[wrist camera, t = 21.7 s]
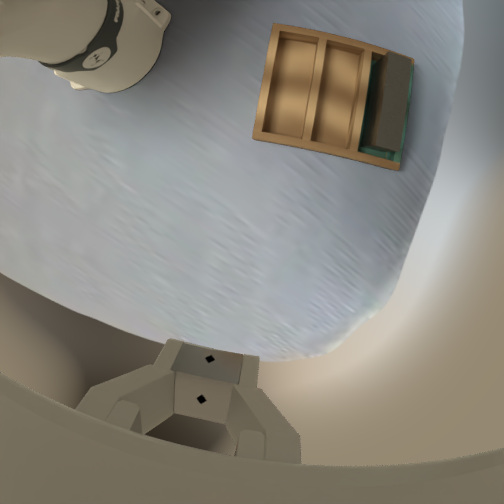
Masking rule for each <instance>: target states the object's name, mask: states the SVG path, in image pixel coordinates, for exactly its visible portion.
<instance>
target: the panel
mask: <svg viewBox="0 0 504 504" xmlns="http://www.w3.org/2000/svg"><path fill="white" fill-rule="evenodd" d="M411 61H412V59H410V58H407V57H405V56H402V55H399V54H396V53H393V52H390V51H388V52H387V53H386V54H385V55H384V56H383V57H381V58H380V59H379V60H378V61H377V62H376V63H375V64H374V65H372V73H371V81H370V88H369V95H368V102H367V109H366V115H365V121H364V127H363V133H362V139H361V145H360V147H364V148H368V149H371V150H375V151H379V152H399V151H400V146H401V140H402V134H403V127H404V121H405V114H406V107H407V99H408V91H409V82H410V72H411Z"/></svg>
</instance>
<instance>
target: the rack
mask: <svg viewBox="0 0 504 504" xmlns="http://www.w3.org/2000/svg"><path fill="white" fill-rule="evenodd" d="M388 51H390V50H387V49H384V48H381V47H378V46H375V45H372V44H368V43H365V42H361V41H358V40H354V39H350V38H346V37H342V36H338V35H334V34H330V33H326V32H321V31H316V30H311V29H306V28H301V27H295V26H289V25H283V24H276V23H273V26H272V31H271V37H270V42H269V47H268V53H267V58H266V63H265V69H264V74H263V80H262V85H261V91H260V96H259V102H258V107H257V113H256V119H255V124H254V130H253V136H252V139H254V140H258V141H264V142H270V143H276V144H281V145H286V146H292V147H297V148H302V149H307V150H312V151H316V152H321V153H326V154H330V155H334V156H339V157H343V158H347V159H351V160H356V161H360V162H363V163H367V164H371V165H375V166H379V167H383V168H386V169H391V170H397V171H399V166H400V161H401V156H402V150H403V145H404V139H405V132H406V126H407V119H408V112H409V105H410V97H411V88H412V79H413V69H414V59H413V58H410V57H408V56H405V55H402V54H399V53H396V52H393V51H390V52H393V53H396V54H399V55H402V56H405V57H407V58H410V59H412V61H411V72H410V82H409V91H408V99H407V107H406V114H405V121H404V127H403V134H402V140H401V146H400V151H399V152H379V151H375V150H371V149H368V148H364V147H360V145H361V139H362V133H363V127H364V121H365V115H366V109H367V102H368V95H369V88H370V81H371V73H372V65H374V64H375V63H376V62H377V61H378V60H379V59H380V58H381V57H383V56H384V55H385V54H386V53H387V52H388Z"/></svg>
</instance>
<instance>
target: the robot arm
mask: <svg viewBox="0 0 504 504" xmlns="http://www.w3.org/2000/svg"><path fill="white" fill-rule="evenodd" d="M158 12H160V14H158V15H156V14H157V13H158ZM170 20H171V14H170V13H169V12H168V11H167V10H166V9H164V8H163V7H162V6H161V5H160V4H158V3H157V2H156V1H155V0H0V57H7V56H10V57H20V58H27V59H32V60H37V61H39V62H40V63H41V64H42V65H44V66H46V67H48V68H50V69H52V70H55V71H54V73H55V74H56V75H57V76H59V77H62V78H64V79H66V80H69V81H70V83H71V86H72V88H74V89H76V90H84V89H94V90H97V91H100V92H106V93H111V92H117V91H121V90H124V89H126V88H128V87H130V86H132V85H134V84H135V83H137V82H138V81H139V80H140V79H142V78H143V77H144V76H145V75H146V74H147V73H148V71H149V70H150V69H151V68H152V66H153V65H154V63H155V61H156V60H157V58H158V55H159V53H160V49H161V45H162V38H163V33H164V31H165V29H166V27H167V26H168V24H169V22H170ZM259 359H260V358H259V356H253V355H247V354H244V356H243V354H238V353H233V352H227V351H222V350H217V349H213V348H209V347H205V346H200V345H196V344H192V343H188V342H184V341H180V340H176V339H171V338H170V339H168V340H167V342H166V344H165V345H164V347H163V349H162V351H161V353H160V354H159V356H158V358H157V360H156V362H155V363H154V365H147V366H144V367H142V368H139V369H137V370H134V371H132V372H130V373H127V374H125V375H122V376H120V377H117V378H114V379H112V380H109V381H107V382H104V383H101V384H99V385H96V386H94V387H91V388H90V390H89V391H88V392H87V394H86V395H85V396H84V398H83V399H82V401H81V402H80V403H79V405H78V406H77V408H76V409H75V410H74V409H72V408H70V407H67V406H65V405H63V404H61V403H58V402H56V401H54V400H52V399H50V398H48V397H46V396H44V395H42V394H40V393H37V392H35V391H34V390H32V389H30V388H28V387H26V386H24V385H22V384H20V383H18V382H17V381H15V380H13V379H11V378H9V377H8V376H6V375H4V374H2V373H1V372H0V504H504V448H500V449H497V450H492V451H488V452H484V453H479V454H474V455H469V456H463V457H457V458H451V459H444V460H438V461H429V462H421V463H410V464H398V465H379V466H325V465H306V464H301V449H300V448H301V447H300V446H301V445H300V435H299V434H298V433H297V432H296V431H295V429H294V428H293V427H292V426H291V425H290V423H289V422H288V421H287V420H286V419H285V417H284V416H283V415H282V414H281V413H280V411H279V410H278V409H277V408H276V406H275V405H274V404H273V403H272V402H271V400H270V399H269V398H268V397H267V395H266V394H265V393H264V392H263V390H262V389H260V388H257V380H258V370H259ZM173 413H177V414H181V415H186V416H190V417H195V418H200V419H205V420H208V421H213V422H217V423H222V424H226V425H225V426H226V428H227V430H228V432H229V434H230V436H231V437H232V440H233V442H234V443H235V445H236V451H235V455H234V456H231V455H226V454H220V453H215V452H210V451H205V450H200V449H196V448H192V447H188V446H183V445H179V444H175V443H172V442H168V441H164V440H161V439H157V438H154V437H150V436H146V435H144V434H145V433H147V432H148V431H150V430H151V429H153V428H154V427H156V426H157V425H158V424H160V423H161V422H163V421H164V420H166V419H167V418H169V417H170V416H171V415H173Z"/></svg>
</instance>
